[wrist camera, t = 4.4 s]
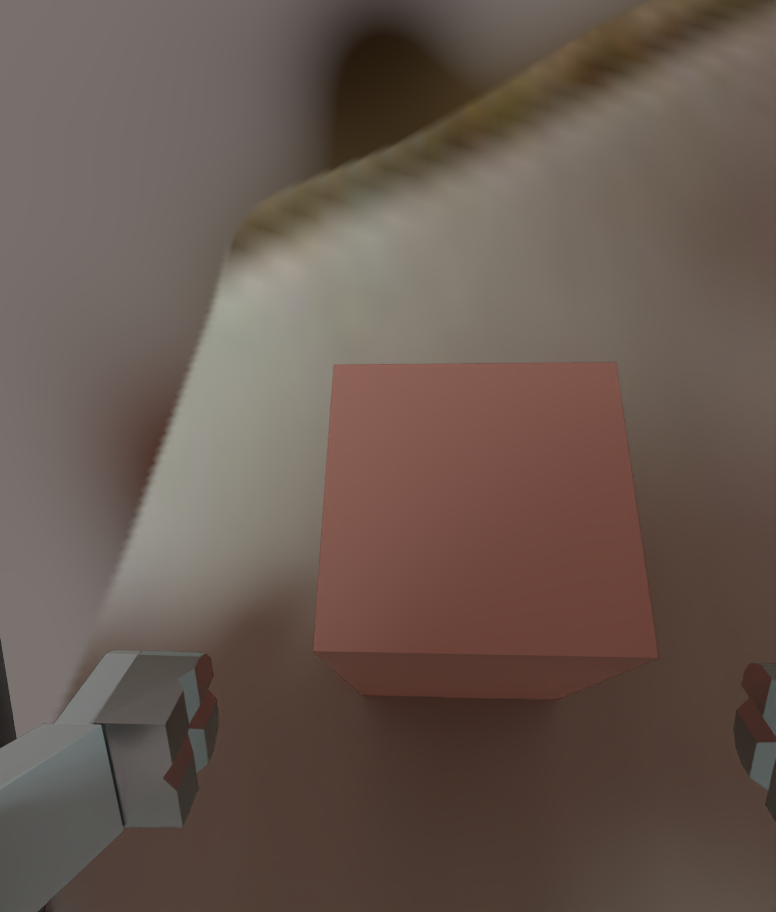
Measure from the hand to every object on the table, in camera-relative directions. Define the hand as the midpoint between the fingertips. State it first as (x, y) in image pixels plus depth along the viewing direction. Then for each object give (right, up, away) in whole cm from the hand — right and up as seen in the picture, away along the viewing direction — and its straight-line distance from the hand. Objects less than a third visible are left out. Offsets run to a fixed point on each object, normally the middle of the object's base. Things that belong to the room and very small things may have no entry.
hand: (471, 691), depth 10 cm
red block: (+1, 0, +8) cm, 8 cm away
